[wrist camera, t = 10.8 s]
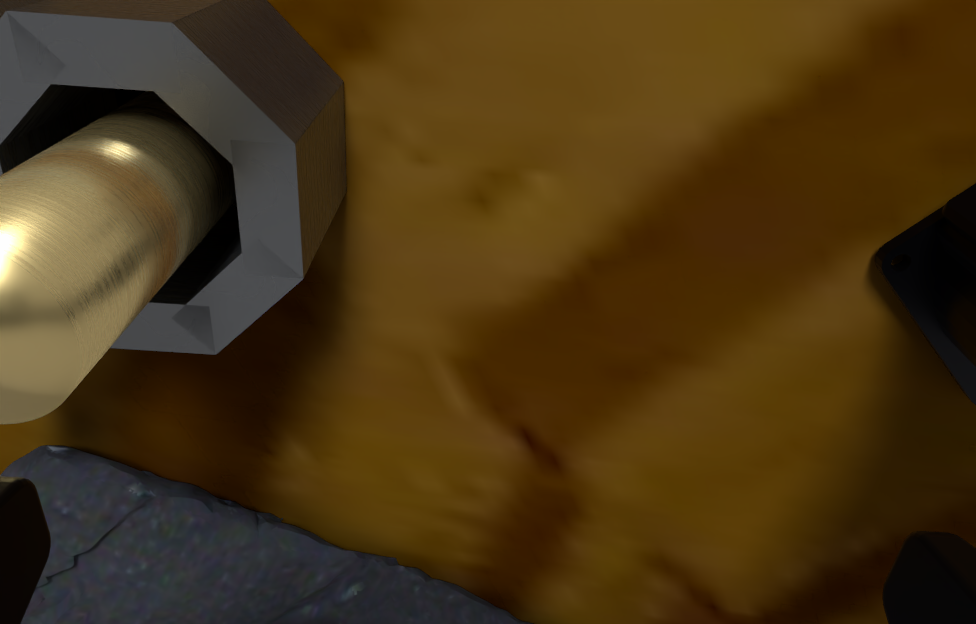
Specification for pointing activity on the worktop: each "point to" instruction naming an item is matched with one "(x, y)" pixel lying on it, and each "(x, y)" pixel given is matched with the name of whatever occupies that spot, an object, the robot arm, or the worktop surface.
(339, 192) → the grey hollow finned part
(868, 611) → the worktop surface
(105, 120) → the brass pin
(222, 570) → the dark slate chunk
